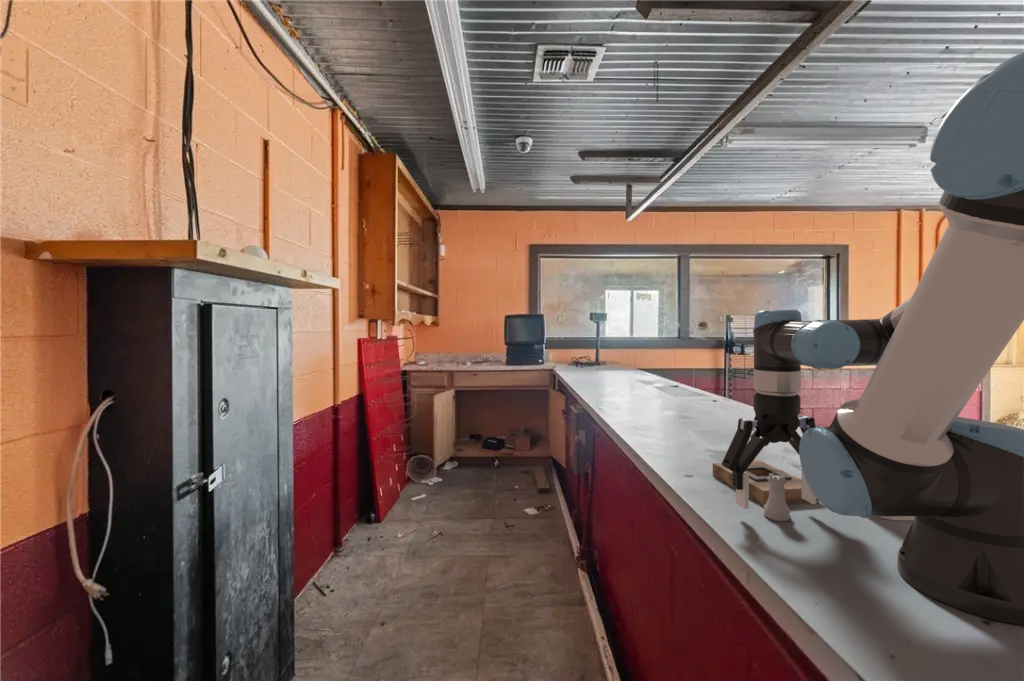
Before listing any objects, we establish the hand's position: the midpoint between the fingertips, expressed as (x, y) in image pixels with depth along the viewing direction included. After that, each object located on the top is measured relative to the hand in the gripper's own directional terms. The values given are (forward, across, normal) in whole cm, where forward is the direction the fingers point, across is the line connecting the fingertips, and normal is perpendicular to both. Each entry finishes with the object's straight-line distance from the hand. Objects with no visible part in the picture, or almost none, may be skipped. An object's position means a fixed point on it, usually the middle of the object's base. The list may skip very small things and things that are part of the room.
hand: (775, 503), depth 81 cm
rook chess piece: (+3, 0, 0) cm, 3 cm away
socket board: (+3, -7, -14) cm, 15 cm away
